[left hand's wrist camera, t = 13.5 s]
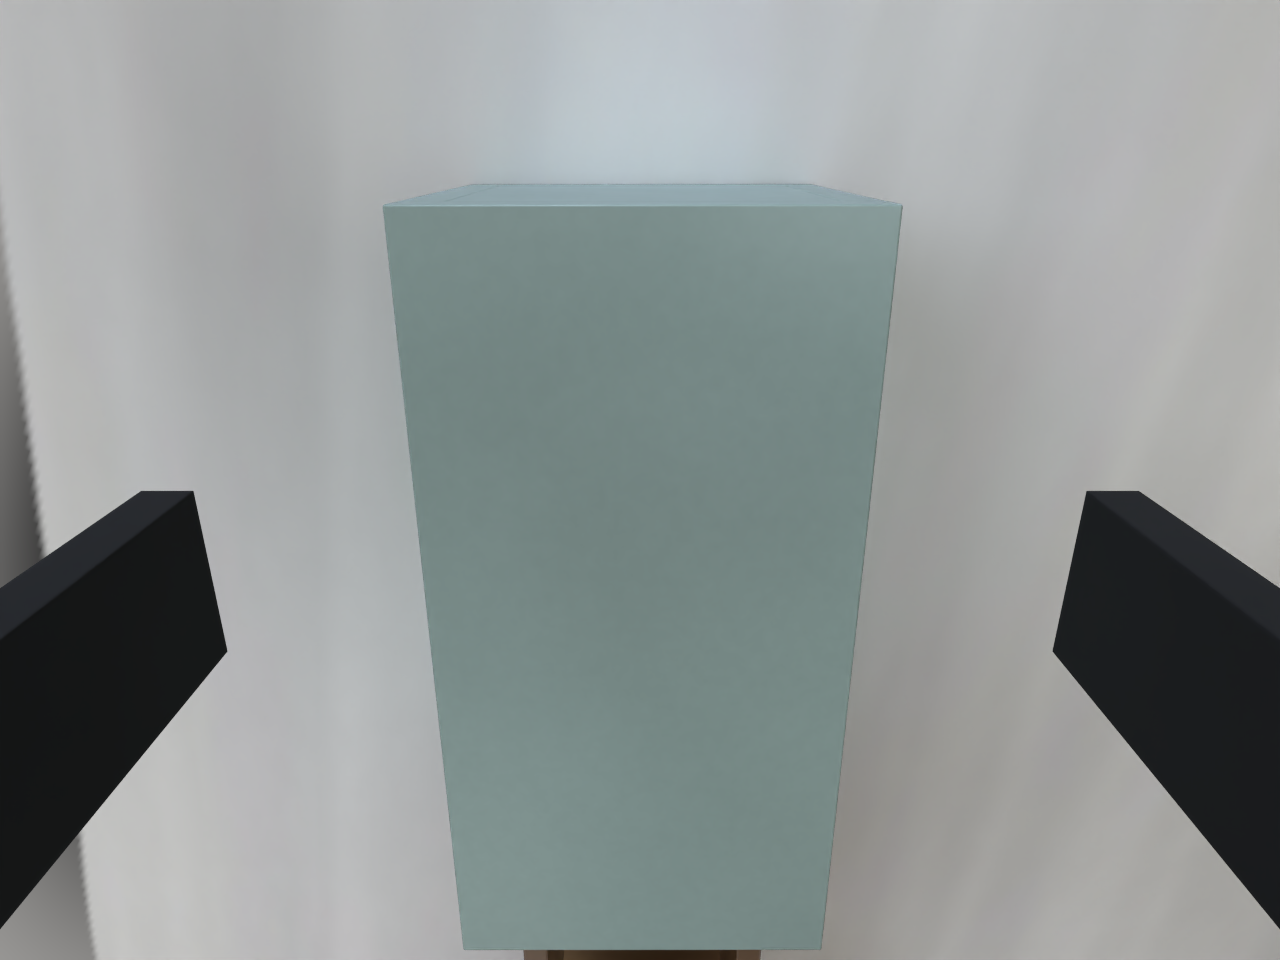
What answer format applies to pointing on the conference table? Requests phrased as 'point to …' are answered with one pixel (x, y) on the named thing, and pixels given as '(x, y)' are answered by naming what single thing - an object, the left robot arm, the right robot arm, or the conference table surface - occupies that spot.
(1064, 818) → the conference table surface
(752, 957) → the drawer
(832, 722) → the cabinet
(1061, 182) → the conference table surface
